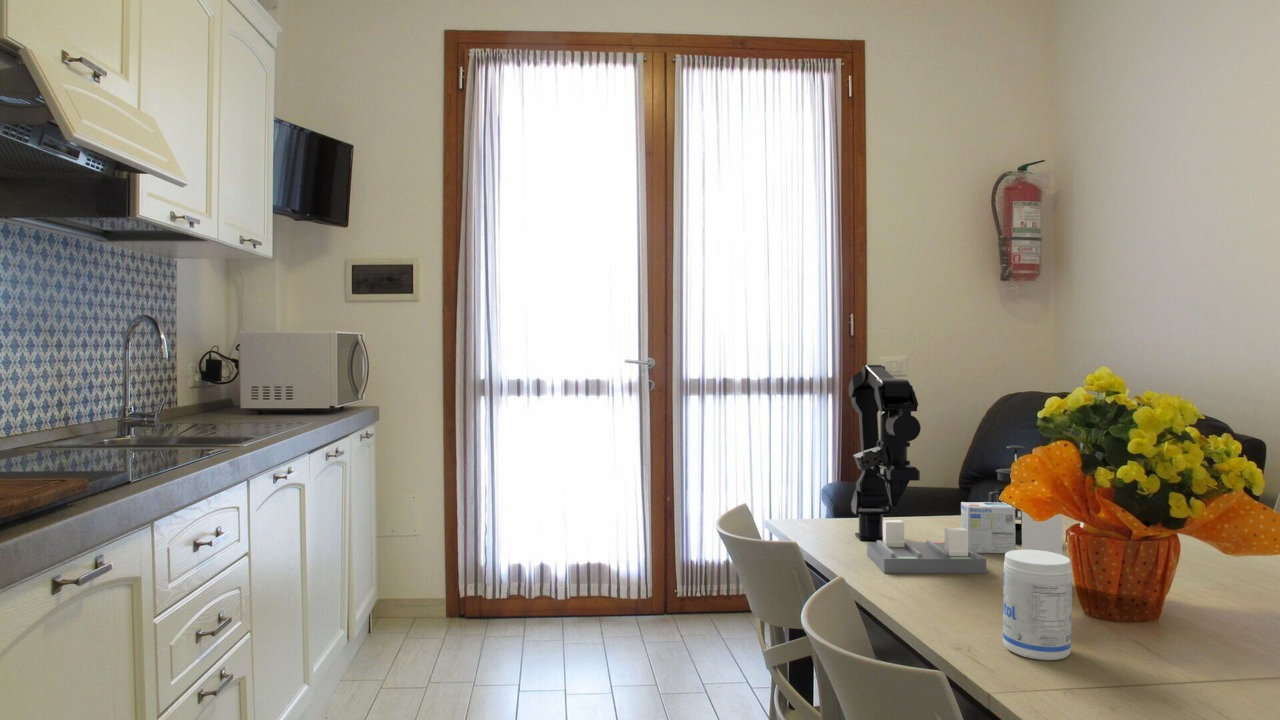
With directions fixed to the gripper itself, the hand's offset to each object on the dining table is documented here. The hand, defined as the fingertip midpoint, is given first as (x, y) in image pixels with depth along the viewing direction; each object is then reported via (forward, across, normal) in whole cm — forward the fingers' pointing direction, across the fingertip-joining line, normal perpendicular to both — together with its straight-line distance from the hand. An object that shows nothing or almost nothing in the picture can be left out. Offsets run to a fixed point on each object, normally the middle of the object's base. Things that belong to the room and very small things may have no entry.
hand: (893, 506), depth 184 cm
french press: (+12, -19, +34) cm, 41 cm away
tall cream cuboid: (+9, +8, +11) cm, 16 cm away
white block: (+9, 0, 0) cm, 9 cm away
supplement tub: (+12, +56, +7) cm, 57 cm away
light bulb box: (+12, -9, +24) cm, 28 cm away
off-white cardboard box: (+12, +19, +24) cm, 33 cm away
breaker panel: (+12, +4, +6) cm, 14 cm away
